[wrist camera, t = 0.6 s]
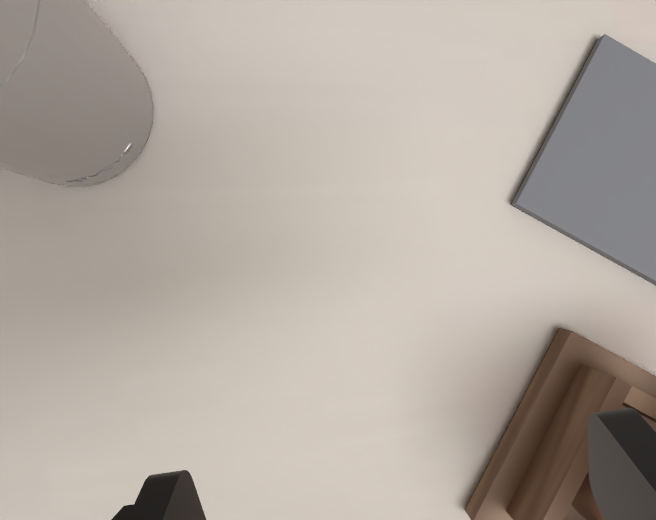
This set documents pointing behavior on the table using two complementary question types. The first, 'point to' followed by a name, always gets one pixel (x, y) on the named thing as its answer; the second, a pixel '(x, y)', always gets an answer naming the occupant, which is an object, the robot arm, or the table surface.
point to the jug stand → (558, 431)
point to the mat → (602, 161)
